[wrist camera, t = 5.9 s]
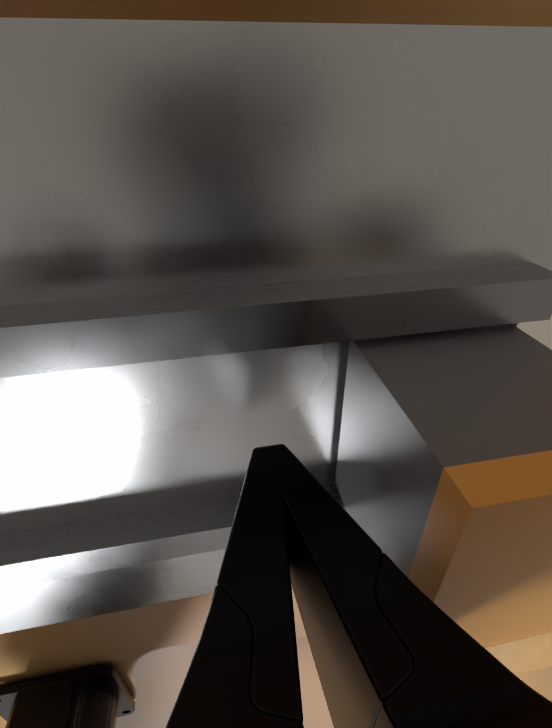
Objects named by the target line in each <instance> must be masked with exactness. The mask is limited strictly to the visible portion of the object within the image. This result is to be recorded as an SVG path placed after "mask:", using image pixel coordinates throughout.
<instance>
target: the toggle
mask: <svg viewBox="0 0 552 728" xmlns="http://www.w3.org/2000/svg"><path fill="white" fill-rule="evenodd" d="M335 483H336V486H337V488H338V491H339V493H340V496H341V499H342V501H343V504H344V506H345V509H346V511H347V513H348V514H349V515H350V516H351V517H352V518H353V519H354V520H355V521H356V522H357V523H358V525H359V526H360V527H361V528H362V529H363V530H364V531H365V532H366V533H367V534H368V535H369V536H370V538H371V539H372V540H373V541H374V542H375V543H376V544H377V545H378V546H379V547H380V548H381V550H382V553H385V554H386V555H387V556H388V557H389V558H390V559H391V560H392V561H393V562H394V563H395V564H396V566H397V567H398V568H399V569H400V570H401V571H402V572H403V573H404V574H405V575H406V576H407V577H408V578H409V579H410V580H411V581H412V582H413V583H414V584H415V585H416V586H417V587H418V588H419V589H420V590H421V591H422V592H423V593H424V594H425V595H426V596H427V597H428V598H429V599H431V600H432V601H433V602H434V603H435V604H436V605H437V606H438V607H439V608H440V609H441V610H442V611H443V612H445V613H446V614H447V615H448V616H449V617H450V618H451V619H452V620H454V621H455V622H456V623H457V624H458V625H459V626H460V627H461V628H462V629H464V630H465V631H466V632H467V633H468V634H469V635H470V636H471V637H473V638H474V639H475V640H476V641H477V642H478V643H479V644H480V645H482V646H483V647H484V648H487V647H491V646H495V645H500V644H504V643H508V642H512V641H516V640H521V639H525V638H529V637H533V636H537V635H542V634H546V633H550V632H552V350H551V349H550V348H548V347H547V346H545V345H543V344H542V343H540V342H539V341H537V340H536V339H534V338H533V337H531V336H530V335H528V334H527V333H525V332H524V331H522V330H520V329H519V328H517V327H516V326H514V325H513V324H504V325H494V326H485V327H475V328H466V329H457V330H447V331H438V332H428V333H419V334H410V335H400V336H391V337H381V338H372V339H362V340H353V341H349V350H348V360H347V370H346V380H345V389H344V399H343V409H342V419H341V428H340V438H339V448H338V458H337V467H336V477H335Z"/></svg>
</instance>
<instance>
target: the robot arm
mask: <svg viewBox="0 0 552 728" xmlns="http://www.w3.org/2000/svg"><path fill="white" fill-rule="evenodd" d="M291 584H292V587H291ZM292 588H293V591H294V594H295V598H296V601H297V605H298V608H299V611H300V615H301V618H302V621H303V625H304V628H305V631H306V635H307V638H308V642H309V645H310V648H311V652H312V655H313V658H314V662H315V665H316V669H317V672H318V675H319V679H320V682H321V685H322V689H323V692H324V696H325V699H326V702H327V705H328V709H329V712H330V716H331V719H332V722H333V726H334V728H552V702H551V701H549V700H547V699H546V698H545V697H543V696H542V695H540V694H539V693H537V692H536V691H535V690H533V689H532V688H531V687H529V686H528V685H527V684H525V683H524V682H523V681H521V680H520V679H519V678H518V677H516V676H515V675H514V674H513V673H512V672H511V671H510V670H509V669H507V668H506V667H505V666H504V665H503V664H502V663H501V662H500V661H498V660H497V659H496V658H495V657H494V656H493V655H492V654H491V653H489V652H488V651H487V650H486V649H485V648H484V647H483V646H482V645H480V644H479V643H478V642H477V641H476V640H475V639H474V638H473V637H471V636H470V635H469V634H468V633H467V632H466V631H465V630H464V629H462V628H461V627H460V626H459V625H458V624H457V623H456V622H455V621H454V620H452V619H451V618H450V617H449V616H448V615H447V614H446V613H445V612H443V611H442V610H441V609H440V608H439V607H438V606H437V605H436V604H435V603H434V602H433V601H432V600H431V599H429V598H428V597H427V596H426V595H425V594H424V593H423V592H422V591H421V590H420V589H419V588H418V587H417V586H416V585H415V584H414V583H413V582H412V581H411V580H410V579H409V578H408V577H407V576H406V575H405V574H404V573H403V572H402V571H401V570H400V569H399V568H398V567H397V566H396V564H395V563H394V562H393V561H392V560H391V559H390V558H389V557H388V556H387V555H386V554H385V553H382V550H381V548H380V547H379V546H378V545H377V544H376V543H375V542H374V541H373V540H372V539H371V538H370V536H369V535H368V534H367V533H366V532H365V531H364V530H363V529H362V528H361V527H360V526H359V525H358V523H357V522H356V521H355V520H354V519H353V518H352V517H351V516H350V515H349V514H348V513H347V512H346V510H345V509H344V508H343V507H342V506H341V505H340V504H339V503H338V502H337V501H336V500H335V499H334V497H333V496H332V495H331V494H330V493H329V492H328V491H327V490H326V489H325V488H324V487H323V486H322V484H321V483H320V482H319V481H318V480H317V479H316V478H315V477H314V476H313V475H312V474H311V473H310V471H309V470H308V469H307V468H306V467H305V466H304V465H303V464H302V463H301V462H300V461H299V460H298V458H297V457H296V456H295V455H294V454H293V453H292V452H291V451H290V450H289V449H288V448H287V447H286V446H285V445H284V444H276V445H270V446H263V447H256V448H254V449H253V450H252V454H251V458H250V461H249V465H248V469H247V472H246V476H245V480H244V483H243V487H242V491H241V495H240V498H239V502H238V506H237V509H236V513H235V517H234V520H233V524H232V528H231V531H230V535H229V539H228V543H227V546H226V550H225V554H224V557H223V561H222V565H221V568H220V572H219V576H218V580H217V586H216V587H215V590H214V593H213V597H212V601H211V604H210V608H209V611H208V614H207V618H206V621H205V624H204V628H203V631H202V634H201V637H200V640H199V643H198V645H197V648H196V651H195V654H194V656H193V659H192V662H191V665H190V668H189V670H188V673H187V676H186V678H185V680H184V683H183V685H182V688H181V690H180V693H179V696H178V698H177V701H176V703H175V705H174V708H173V711H172V713H171V716H170V718H169V721H168V723H167V726H166V728H304V726H303V713H302V702H301V690H300V678H299V667H298V656H297V644H296V633H295V622H294V610H293V599H292ZM134 710H135V701H134V699H133V698H132V696H131V694H130V693H129V691H128V689H127V688H126V686H125V684H124V682H123V681H122V679H121V677H120V676H119V674H118V672H117V671H116V669H115V667H114V666H111V665H103V666H98V667H93V668H89V669H84V670H79V671H74V672H70V673H65V674H60V675H55V676H51V677H46V678H41V679H37V680H32V681H27V682H22V683H18V684H13V685H8V686H4V687H0V716H1V717H3V718H4V719H5V720H6V721H7V724H6V727H5V728H115V725H116V717H120V716H124V715H128V714H131V713H133V712H134Z"/></svg>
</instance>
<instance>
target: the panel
mask: <svg viewBox="0 0 552 728" xmlns="http://www.w3.org/2000/svg"><path fill="white" fill-rule="evenodd" d="M504 324H513V325H514V326H516V327H517V328H519V329H520V330H522V331H524V332H525V333H527V334H528V335H530V336H531V337H533V338H534V339H536V340H537V341H539V342H540V343H542V344H543V345H545V346H547V347H548V348H550V349H551V350H552V27H537V26H479V25H421V24H362V23H304V22H246V21H188V20H129V19H71V18H13V17H0V634H3V633H8V632H14V631H19V630H24V629H29V628H34V627H39V626H44V625H50V624H55V623H60V622H65V621H70V620H75V619H81V618H86V617H91V616H96V615H101V614H106V613H112V612H117V611H122V610H127V609H132V608H137V607H143V606H148V605H153V604H158V603H163V602H168V601H173V600H179V599H184V598H189V597H194V596H199V595H204V594H210V593H214V590H215V587H216V586H217V580H218V576H219V572H220V568H221V565H222V561H223V557H224V554H225V550H226V546H227V543H228V539H229V535H230V531H231V528H232V524H233V520H234V517H235V513H236V509H237V506H238V502H239V498H240V495H241V491H242V487H243V483H244V480H245V476H246V472H247V469H248V465H249V461H250V458H251V454H252V450H253V449H254V448H256V447H263V446H270V445H276V444H284V445H285V446H286V447H287V448H288V449H289V450H290V451H291V452H292V453H293V454H294V455H295V456H296V457H297V458H298V460H299V461H300V462H301V463H302V464H303V465H304V466H305V467H306V468H307V469H308V470H309V471H310V473H311V474H312V475H313V476H314V477H315V478H316V479H317V480H318V481H319V482H320V483H321V484H322V486H323V487H324V488H325V489H326V490H327V491H328V492H329V493H330V494H331V495H332V496H333V497H334V499H335V500H336V501H337V502H338V503H339V504H340V505H341V506H342V507H343V508H344V509H345V506H344V504H343V501H342V499H341V496H340V493H339V491H338V488H337V486H336V483H335V477H336V467H337V458H338V448H339V438H340V428H341V419H342V409H343V399H344V389H345V380H346V370H347V360H348V350H349V341H353V340H362V339H372V338H381V337H391V336H400V335H410V334H419V333H428V332H438V331H447V330H457V329H466V328H475V327H485V326H494V325H504ZM345 510H346V509H345ZM346 512H347V511H346Z"/></svg>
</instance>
